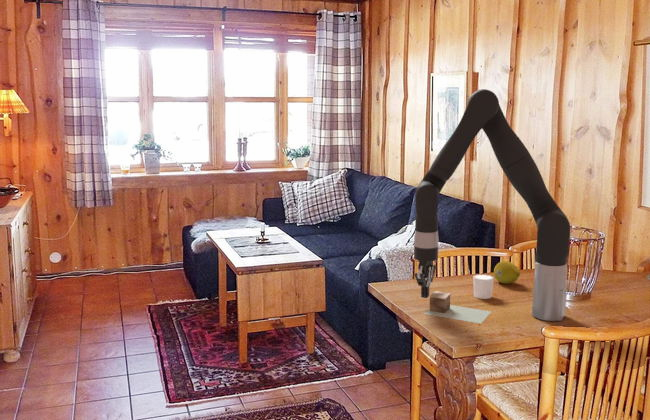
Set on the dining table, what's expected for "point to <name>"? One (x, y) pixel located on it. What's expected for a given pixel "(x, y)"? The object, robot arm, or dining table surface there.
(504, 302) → the dining table surface
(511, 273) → the lemon
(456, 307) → the rubber mat
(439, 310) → the copper block
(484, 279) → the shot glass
